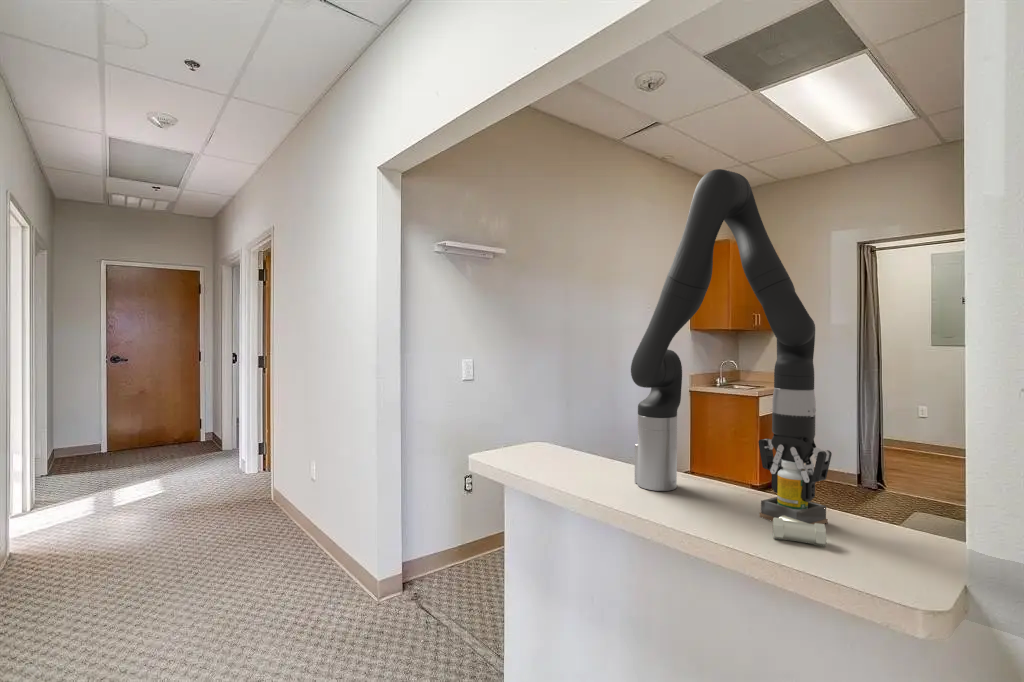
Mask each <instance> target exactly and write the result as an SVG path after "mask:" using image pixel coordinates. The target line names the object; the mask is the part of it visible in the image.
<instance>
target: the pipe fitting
mask: <svg viewBox="0 0 1024 682" xmlns="http://www.w3.org/2000/svg"><path fill="white" fill-rule="evenodd" d="M772 537H773V540H780V541H784V540H785V541H792V542H799V543H806V544H811V545H814V546H819V547H826V546H827V545H826V544H827V530H826V524H819V523H815V524H809V523H806V522H803V521H800V520H796V519H793V518H790V517H787V516H780V517H779V518H775V517H774V518H773V521H772Z"/></svg>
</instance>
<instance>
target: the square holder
mask: <svg viewBox="0 0 1024 682" xmlns="http://www.w3.org/2000/svg"><path fill="white" fill-rule="evenodd" d="M824 508H825V509H824ZM758 515H759V518H762V517H763V518H762V519H764V520H767V519H768V521H770V520H771V522H773V518H774V517H775V518H779V517H780V516H787V517H790V518H793V519H796V520H800V521H803V522H806V523H809V524H815V523H819V524H824V525H826V524H828V523H829V521H828V518H827V505H823V504H820V503H817V502H814V501H808V509H804V510H801V511H798V510H795V509H791V508H788V507H785V506H782V505H778V504H777V496H774V497H771V498H767V499H762V500H760V512H759V513H758ZM825 523H826V524H825Z"/></svg>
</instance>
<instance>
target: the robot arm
mask: <svg viewBox="0 0 1024 682" xmlns="http://www.w3.org/2000/svg"><path fill="white" fill-rule="evenodd" d="M689 207H690V208H689V212H688V215H687V217H686V218H687V220H686V223H685V226H684V230H683V233H682V236H681V239H680V241H679V243H678V246H677V249H676V251H675V254H674V258H673V260H672V262H671V266H670V268H669V270H668V272H667V275H666V278H665V281H664V283H663V286H662V289H661V292H660V296H659V298H658V301H657V304H656V306H655V309H654V311H653V314H652V316H651V319H650V321H649V324H648V326H647V329H646V331H645V333H644V334H643V337H642V338H641V340H640V342H639V345H638V347H637V348H636V350H635V353H634V355H633V358H632V360H631V365H630V376H631V379H632V381H633V383H634V384H635V385H637V386H638V387H641V388H647V389H648V388H650V392H649V395H648V396H647V397H645V398H644V399H643V400H641V401H640V402H639V403H638V404H637V443H636V444H634V483H635V484H636V485H637V486H638V487H639V488H642V489H645V490H650V491H656V492H657V491H658V492H667V491H674V490H676V489H677V485H678V484H677V482H678V481H677V480H678V477H677V476H678V409H679V406H680V405H681V400H682V388H683V387H682V385H683V364H682V360H681V359H680V357H679V355H678V354H677V353H676V352H675V351H673V350H672V349H669V346H670V344H671V343H672V340H673V339H674V338H675V336H676V335H677V333H679V331H680V330H681V329H682V328H683V327H685V325H686V324H687V323H688V322H689V321H690V320H691V319H692V317H694V315H695V314H696V313H697V312H698V310H699V309H700V307H701V305H702V303H703V301H704V299H705V296H706V294H707V292H708V290H709V286H710V284H711V281H712V275H713V265H714V261H713V260H714V248H715V244H716V239H717V238H718V234H719V232H720V230H721V227H722V225H723V222H725V224H726V225H727V226H728V228H729V230H730V231H731V233H732V235H733V237H734V240H735V241H736V244H737V248H738V253H739V257H740V262H741V266H742V269H743V272H744V275H745V277H746V279H747V282H748V284H749V285H750V288H751V289H752V291H753V294H754V295H755V297H756V298H757V300H758V302H759V304H761V306H762V309H763V312H764V314H765V317H766V320H767V322H768V324H769V326H770V329H771V331H772V332H773V335H774V337H775V338H776V361H775V364H774V368H773V369H774V371H773V373H774V374H773V393H772V408H771V410H772V411H771V415H772V416H771V421H772V423H771V432H772V433H773V436H772V438H771V439H770V438H764V439H759V440H758V448H759V453H760V460H761V466H762V468H763V469H764V470H767V471H769V472H770V474H771V489H772V490H773V493H774V494H775V493H776V494H777V490H778V471H779V470H780V469H783V467H782V465H781V460H787V461H791V462H796V465H797V468H798V470H799V471H800V472H801V474H802V477H803V480H804V482H802V500H803V501H806V502H808V501H810V502H813V499H814V498H815V497H816V483H818V482H821V481H826V480H827V476H828V471H829V467H830V463H831V459H832V451H831V450H829V449H827V450H824V449H821V448H819V447H817V445H816V443H815V436H816V411H817V409H816V401H817V400H816V396H815V366H814V357H815V355H814V354H815V353H814V352H815V345H816V344H815V343H816V342H815V341H816V324H815V320H813V318H812V317H811V315H810V314H809V312H808V310H807V309H806V307H805V306H804V304H803V303H802V302H803V301H802V300H801V299H800V297H799V295H798V294H797V292H796V288H795V285H794V283H793V281H792V279H791V277H790V275H789V273H788V271H787V270H786V268H785V265H784V263H783V262H782V260H781V258H780V257H779V255H778V252H777V251H776V249H775V247H774V245H773V243H772V241H771V239H770V236H769V235H768V233H767V230H766V228H765V225H764V223H763V220H762V217H761V214H760V212H759V208H758V206H757V201H756V199H755V195H754V193H753V190H752V187H751V184H750V182H749V180H748V179H747V177H746V176H744V175H742V174H740V173H737V172H735V171H732V170H731V171H730V170H726V169H720V168H719V169H718V168H717V169H712V170H710V171H708V172H706V173H705V174H704V175H703V176H702V177H701V178H700V180H699V181H698V182H697V185H696V186H695V189H694V192H693V196H692V200H691V203H690V206H689ZM773 449H774V450H775V455H774V451H773ZM813 455H814V459H815V463H814V462H813V459H812V456H813Z"/></svg>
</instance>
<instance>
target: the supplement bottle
mask: <svg viewBox="0 0 1024 682" xmlns="http://www.w3.org/2000/svg"><path fill="white" fill-rule="evenodd" d="M781 465H782V467H783V469H780V470H779V471H778V490H777V493H776V495H777V496H776V497H777V504H778V505H782V506H785V507H788V508H791V509H795V510H798V511H801V510H804V509H808V502H806V501H803V500H802V482H804V480H803V477H802V474H801V472H800V471H799V470H798V468H797V465H796V462H791V461H787V460H781Z"/></svg>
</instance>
